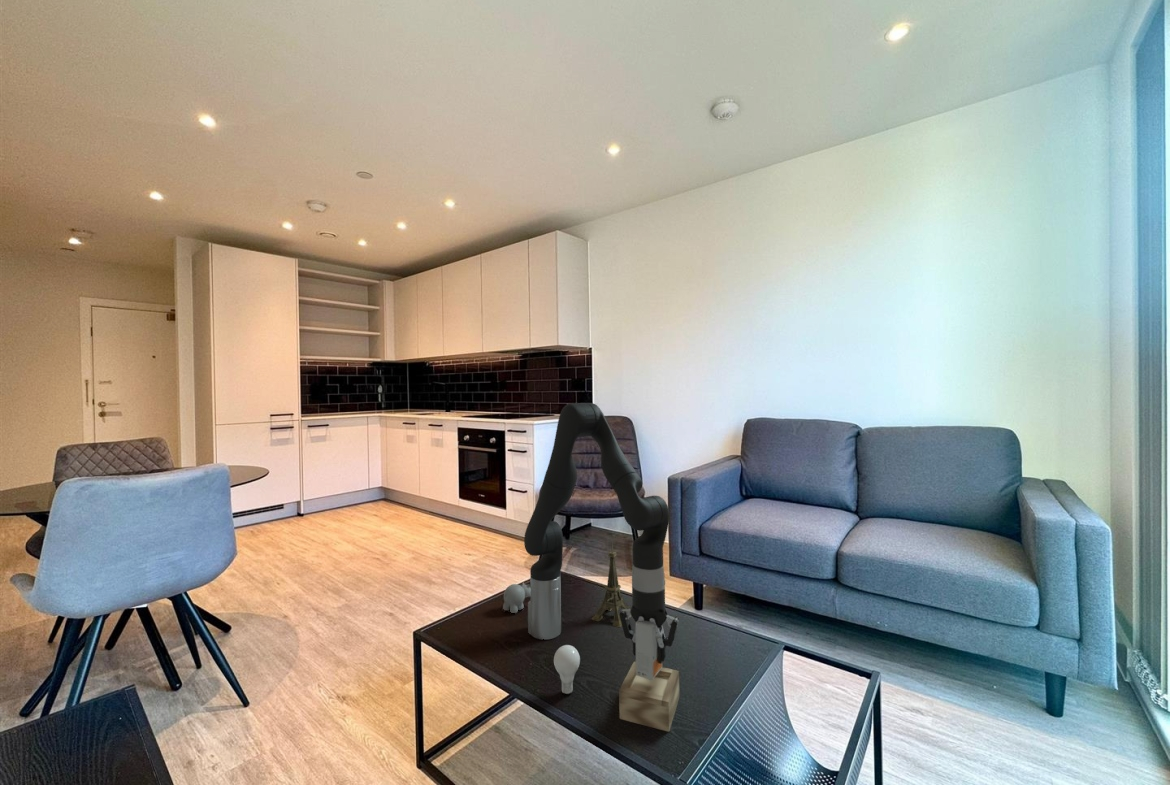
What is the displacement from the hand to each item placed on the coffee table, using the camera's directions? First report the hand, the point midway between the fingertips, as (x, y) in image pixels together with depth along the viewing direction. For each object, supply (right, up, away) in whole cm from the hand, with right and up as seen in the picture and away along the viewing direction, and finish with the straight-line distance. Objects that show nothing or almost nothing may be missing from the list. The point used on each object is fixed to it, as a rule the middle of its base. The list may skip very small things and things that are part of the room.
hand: (649, 659), depth 103 cm
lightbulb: (-19, -12, +5) cm, 23 cm away
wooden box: (0, -11, 0) cm, 11 cm away
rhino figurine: (-37, -13, +51) cm, 65 cm away
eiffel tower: (-6, -13, +44) cm, 46 cm away
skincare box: (0, -3, 0) cm, 3 cm away
